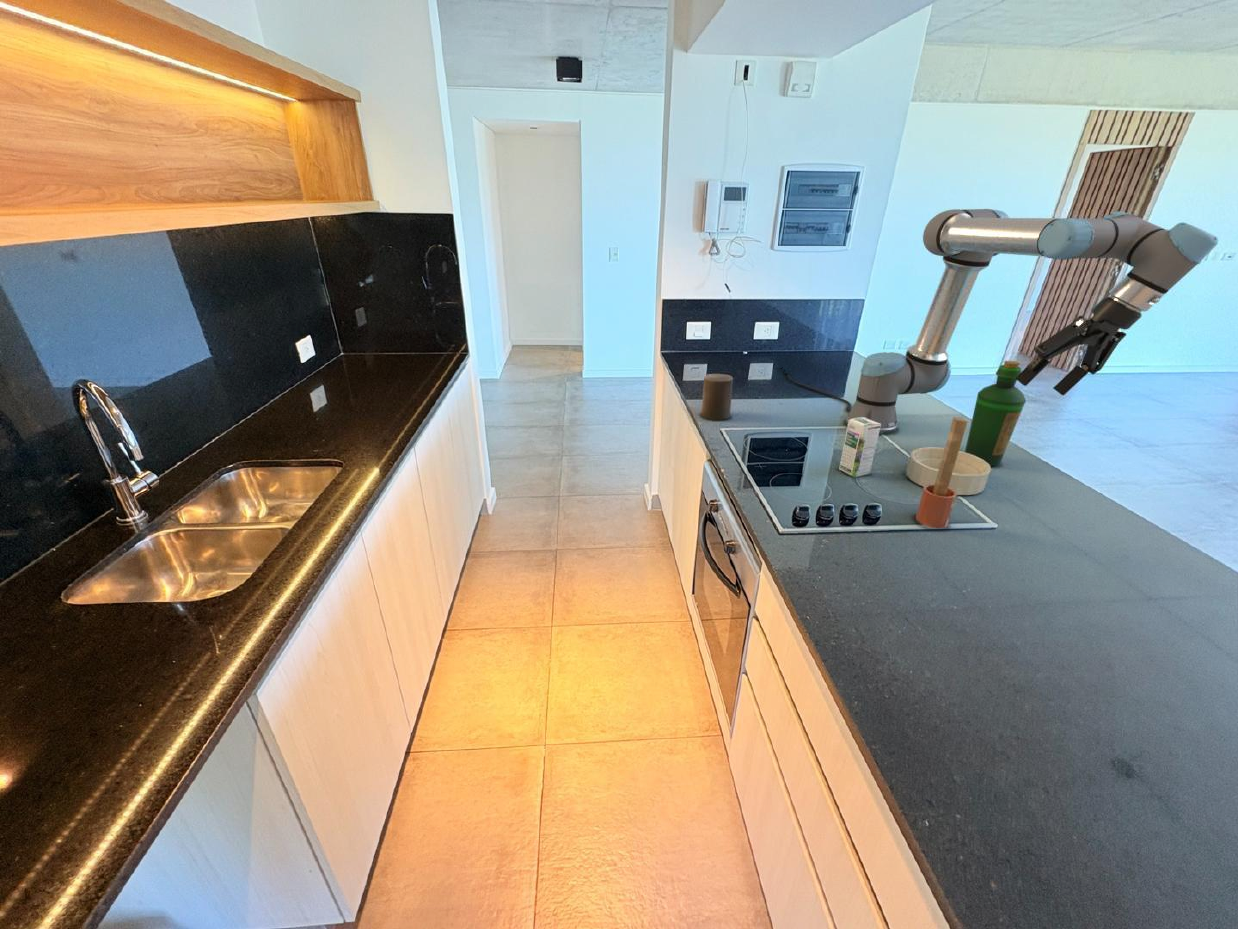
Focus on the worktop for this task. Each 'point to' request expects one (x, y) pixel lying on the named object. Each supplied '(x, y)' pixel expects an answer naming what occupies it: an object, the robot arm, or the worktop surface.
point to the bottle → (996, 415)
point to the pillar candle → (717, 396)
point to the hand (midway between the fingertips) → (1039, 387)
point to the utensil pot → (935, 507)
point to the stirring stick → (949, 456)
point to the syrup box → (859, 446)
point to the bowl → (965, 475)
